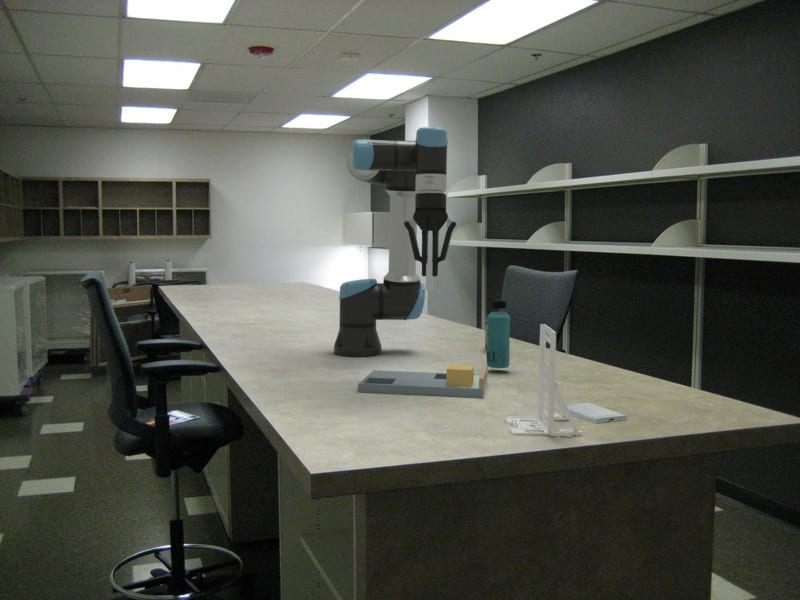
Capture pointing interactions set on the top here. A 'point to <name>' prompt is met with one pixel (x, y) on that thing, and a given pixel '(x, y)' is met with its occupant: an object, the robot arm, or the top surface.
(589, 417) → the hard drive
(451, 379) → the ochre block
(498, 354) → the beverage bottle
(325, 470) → the top surface
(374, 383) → the board
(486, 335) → the brown semicircular wedge
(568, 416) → the white bracket stand
